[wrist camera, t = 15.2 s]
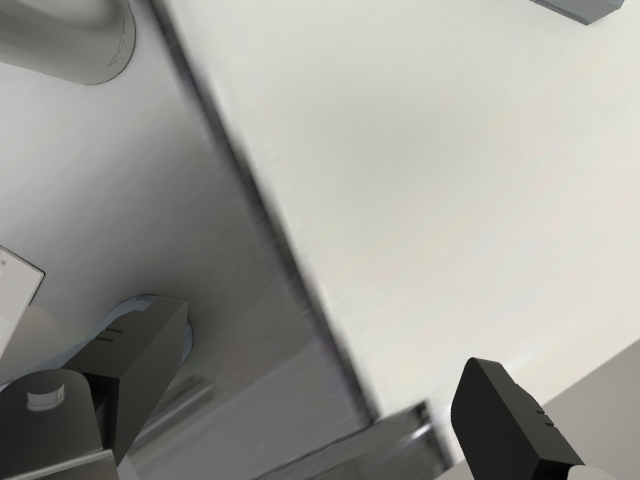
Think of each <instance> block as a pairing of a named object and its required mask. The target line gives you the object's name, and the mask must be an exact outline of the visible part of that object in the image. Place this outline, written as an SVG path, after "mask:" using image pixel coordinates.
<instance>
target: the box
mask: <svg viewBox="0 0 640 480" xmlns="http://www.w3.org/2000/svg"><path fill="white" fill-rule="evenodd" d="M531 1H533V2H535V3H538V4H540V5H542V6H544V7H547V8H549V9H551V10H553V11H556V12H558V13H560V14H562V15H565V16H567V17H569V18H571V19H573V20H576V21H578V22H580V23H582V24H585V25H588V24H590V23H592V22H594V21H596V20H598V19H600V18H602V17H604V16H606V15H608V14H610V13H611V12H613V11H615V10H617V9H619V8H621V6H622V4H623V2H624V0H531Z"/></svg>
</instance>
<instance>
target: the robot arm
mask: <svg viewBox="0 0 640 480" xmlns="http://www.w3.org/2000/svg"><path fill="white" fill-rule="evenodd" d="M134 42H135V25H134V21H133V16H132V13H131V10H130V8H129V6H128V3H127V1H126V0H0V62H3V63H7V64H10V65H14V66H18V67H21V68H25V69H29V70H32V71H36V72H39V73H43V74H46V75H50V76H53V77H57V78H61V79H64V80H68V81H72V82H75V83H81V84H86V85H87V84H99V83H103V82H106V81H108V80H110V79H112V78H113V77H115V76H116V75H117V74H118V73H120V72H121V71H122V70H123V69H124V67H125V66H126V64H127V63H128V61H129V59H130V57H131V54H132V51H133V48H134ZM187 317H188V302H187V301H183V300H178V299H173V298H168V297H162V296H159V297H158V298H157V299H156V300H155V301H154V302H153V303H152V304H151V305H150V306H149V307H148V308H147V309H146V310H145V311H139V310H133V311H131V312H129V313H126V314H124V315H121V316H119V317H117V318H116V319H115V320H114V321H112V322H111V323H110V324H109V325H108V326H107V327H106V328H105V330H102V331H101V332H100V333H99V334H98V335H97V336H96V337H95V339H92V340H91V341H90V342H89V343H88V344H86V345H85V346H84V347H83V348H82V349H81V350H80V351H79V352H77V353H76V354H75V355H74V356H73V357H72V358H71V359H70V360H68V361H67V362H66V363H65V364H64V365H63V366H62V367H61V368H59V369H48V370H42V371H37V372H33V373H30V374H27V375H25V376H22V377H20V378H18V379H16V380H14V381H13V382H11V383H10V384H8V385H7V386H6V387H5V388H4V389H3V390H2V391H1V392H0V480H119V475H118V472H117V467H118V466H119V464H120V462H121V461H122V459H123V458H124V456H125V454H126V453H127V451H128V450H129V448H130V446H131V445H132V443H133V442H134V440H135V438H136V437H137V435H138V434H139V432H140V430H141V429H142V427H143V426H144V424H145V422H146V421H147V419H148V418H149V416H150V414H151V413H152V411H153V410H154V408H155V406H156V405H157V403H158V402H159V400H160V398H161V397H162V395H163V394H164V392H165V390H166V389H167V387H168V386H169V384H170V382H171V381H172V379H173V378H174V376H175V374H176V373H177V370H178V368H179V365H180V363H181V359H182V355H183V349H184V341H185V333H186V325H187ZM544 413H545V412H544V411H543V410H542V408H541V407H540V405H539V404H538V403H537V402H536V400H535V399H534V398H533V397H532V396H531V395H530V394H529V393H527V392H526V391H525V390H524V389H522V388H521V387H520V386H519V385H518V384H515V382H514V381H513V380H512V378H511V377H510V376H509V374H508V373H507V371H506V370H505V369H504V367H503V366H502V365H501V364H500V363H499V362H494V361H489V360H484V359H479V358H474V357H471V358H470V359H469V360H468V361H467V363H466V365H465V367H464V370H463V373H462V376H461V379H460V382H459V385H458V387H457V390H456V393H455V396H454V399H453V402H452V406H451V423H452V427H453V429H454V432H455V434H456V436H457V439H458V441H459V444H460V446H461V448H462V451H463V453H464V456H465V458H466V460H467V463H468V465H469V467H470V470H471V472H472V475H473V477H474V479H475V480H617V479H615V478H614V477H612V476H610V475H608V474H607V473H605V472H603V471H600V470H598V469H596V468H592V467H589V466H586V465H585V464H584V463H583V461H582V460H581V459H580V457H579V456H578V455H577V454H576V452H575V451H574V450H573V448H572V447H571V446H570V444H569V443H568V442H567V441H566V439H565V438H564V437H563V435H562V434H561V433H560V431H559V430H558V429H557V428H556V427H554V424H553V422H552V421H551V420H550V418H549V417H548V416H547V415H545V414H544Z"/></svg>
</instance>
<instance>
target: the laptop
mask: <svg viewBox="0 0 640 480" xmlns="http://www.w3.org/2000/svg"><path fill="white" fill-rule="evenodd" d="M43 276H44V273H43V272H41V271H40V270H38V269H36V268H35V267H33V266H32V265H30V264H29V263H27V262H25V261H24V260H22V259H21V258H19V257H17V256H16V255H14V254H13V253H11V252H10V251H8V250H6V249H5V248H3V247H2V246H0V359H1V357H2V355H3V353H4V351H5V349H6V347H7V345H8V344H9V342H10V340H11V338H12V336H13V334H14V332H15V330H16V328H17V326H18V324H19V322H20V320H21V318H22V317H23V315H24V313H25V311H26V309H27V307H28V305H29V303H30V301H31V299H32V297H33V295H34V293H35V292H36V290H37V288H38V286H39V284H40V282H41V280H42V278H43Z"/></svg>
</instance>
